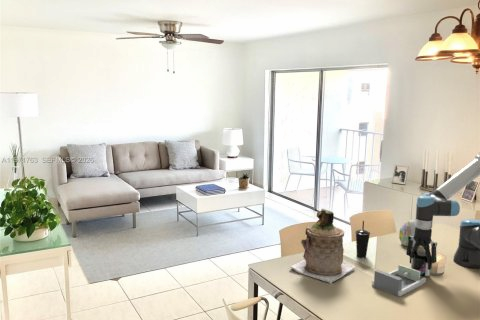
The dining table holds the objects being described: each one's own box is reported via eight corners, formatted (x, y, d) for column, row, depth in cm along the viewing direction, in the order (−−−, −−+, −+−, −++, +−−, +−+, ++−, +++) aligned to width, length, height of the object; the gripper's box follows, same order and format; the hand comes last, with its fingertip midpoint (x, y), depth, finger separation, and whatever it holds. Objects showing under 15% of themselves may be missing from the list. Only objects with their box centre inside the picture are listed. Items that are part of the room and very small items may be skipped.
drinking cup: (369, 259, 218) (371, 223, 215) (354, 258, 219) (356, 222, 216) (368, 254, 225) (370, 219, 222) (353, 253, 227) (355, 218, 224)
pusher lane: (397, 273, 201) (398, 258, 200) (425, 283, 191) (426, 268, 190) (371, 285, 188) (372, 270, 187) (400, 297, 177) (401, 280, 176)
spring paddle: (399, 274, 199) (399, 264, 198) (419, 281, 191) (420, 271, 190) (393, 276, 196) (394, 266, 195) (414, 284, 187) (414, 274, 187)
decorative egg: (396, 240, 247) (398, 216, 245) (417, 241, 246) (419, 217, 244) (401, 248, 235) (403, 222, 233) (423, 249, 234) (425, 223, 232)
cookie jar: (356, 269, 205) (360, 208, 200) (331, 285, 187) (334, 218, 183) (314, 256, 222) (317, 199, 217) (287, 270, 204) (289, 208, 199)
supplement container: (415, 276, 198) (416, 255, 196) (410, 270, 205) (411, 250, 203) (429, 276, 197) (431, 256, 196) (424, 271, 204) (425, 251, 203)
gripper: (400, 224, 203) (397, 268, 206) (440, 234, 188) (435, 281, 191) (408, 221, 207) (405, 264, 211) (447, 231, 192) (443, 277, 196)
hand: (419, 272), depth 201 cm, fingers closed on supplement container, 7 cm apart
